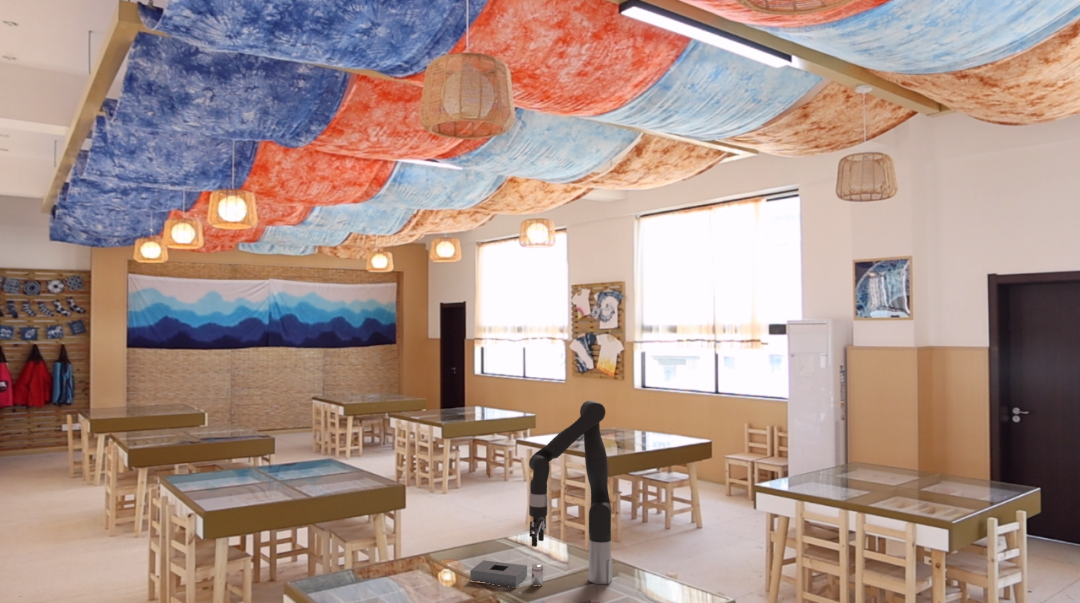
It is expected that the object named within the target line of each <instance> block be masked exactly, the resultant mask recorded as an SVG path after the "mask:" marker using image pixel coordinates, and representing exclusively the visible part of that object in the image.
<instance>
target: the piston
mask: <svg viewBox="0 0 1080 603" xmlns="http://www.w3.org/2000/svg"><path fill="white" fill-rule="evenodd" d="M542 584H543V585H544V564H542V563H533V564H532V565H531V586H532V585H537V586H538V585H542Z"/></svg>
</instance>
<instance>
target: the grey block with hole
mask: <svg viewBox="0 0 1080 603" xmlns="http://www.w3.org/2000/svg"><path fill="white" fill-rule="evenodd" d="M469 577H470V579H469V580H472V581H480V582H485V583H490V584H494V585H500V586H499V587H501V586H509V587H514V588H513V589H517V588H518V587H519V586H520V585H521V584H522V583H523V582H524V581H525V580H526V579H527V578H526V577H528V565H524V564H518V563H510V562H509V563H508V562H499V561H493V560H491V561H490V560H482V561H481V562H479V563H478V564H477V565H476V566H474V567H473V568H472V569H470V575H469ZM525 578H526V579H525ZM524 579H525V580H524ZM523 580H524V581H523ZM522 581H523V582H522ZM521 582H522V583H521ZM520 583H521V584H520ZM519 584H520V585H519ZM518 585H519V586H518ZM517 586H518V587H517ZM509 587H508V588H509ZM516 587H517V588H516Z"/></svg>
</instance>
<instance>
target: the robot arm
mask: <svg viewBox="0 0 1080 603" xmlns="http://www.w3.org/2000/svg"><path fill="white" fill-rule="evenodd" d="M579 415H580V416H579V418H577V419H576V420H575V421H574V422H573V423H572V424H571V425H569V426H568V427H566V428H565V429H563V430H562V431H561V432H559V433H558V434H556V435H555V436H554V437H553V439H551V440H550V441H549V442H548V443H547V444H546V445H545V446H543V447H542V448H541V449H539V450H537V451H536V452H534V454H533V455H532V456H531V457H530V458H529V461H528V465H529V468H530V469H531V470H532V472H533V473H532V479H531V480H530V487H529V488H530V490H529V491H530V492H529V502H528V503H529V504H528V507H529V509H528V510H529V511H528V512H529V516H530V517H532V521H530V522H529V537H530V538H531V547H538V542H544V540H545V537H544V536H545V530H546V529H547V516H548V500H549V499H548V480H549V475H550V468H551V467H550V462H551V461H552V460H553V459H557V458H559V457H560V456H561V455H563V453H564V452H565V451H567V450H568V449H569V448H570V446H572V445H573V444H574V443H575V442H576V441H577V440H578V439H579V438H581V436H583V446H584V458H585V459H584V461H585V462H584V463H585V470H586V475H587V480H588V482H589V487H590V488H589V489H590V507H589V511H588V536H589V537H588V541H589V542H588V545H589V546H588V553H589V554H588V582H590V583H592V584H595V585H610V583H611V581H613V556H612V505H611V500H610V494H609V488H608V479H609V476H608V475H609V472H608V471H609V470H608V469H609V468H608V466H609V465H608V455H607V451H606V447H605V444H604V441H603V438H602V435H601V430H600V429H601V427H600V422H602V421H603V420H604V418H605V416H606V408H605V406H604V405H603V404H602V403H600V402H597V401H595V400H586V401H585V402H583V403H582V404H581V406H580V410H579Z"/></svg>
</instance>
